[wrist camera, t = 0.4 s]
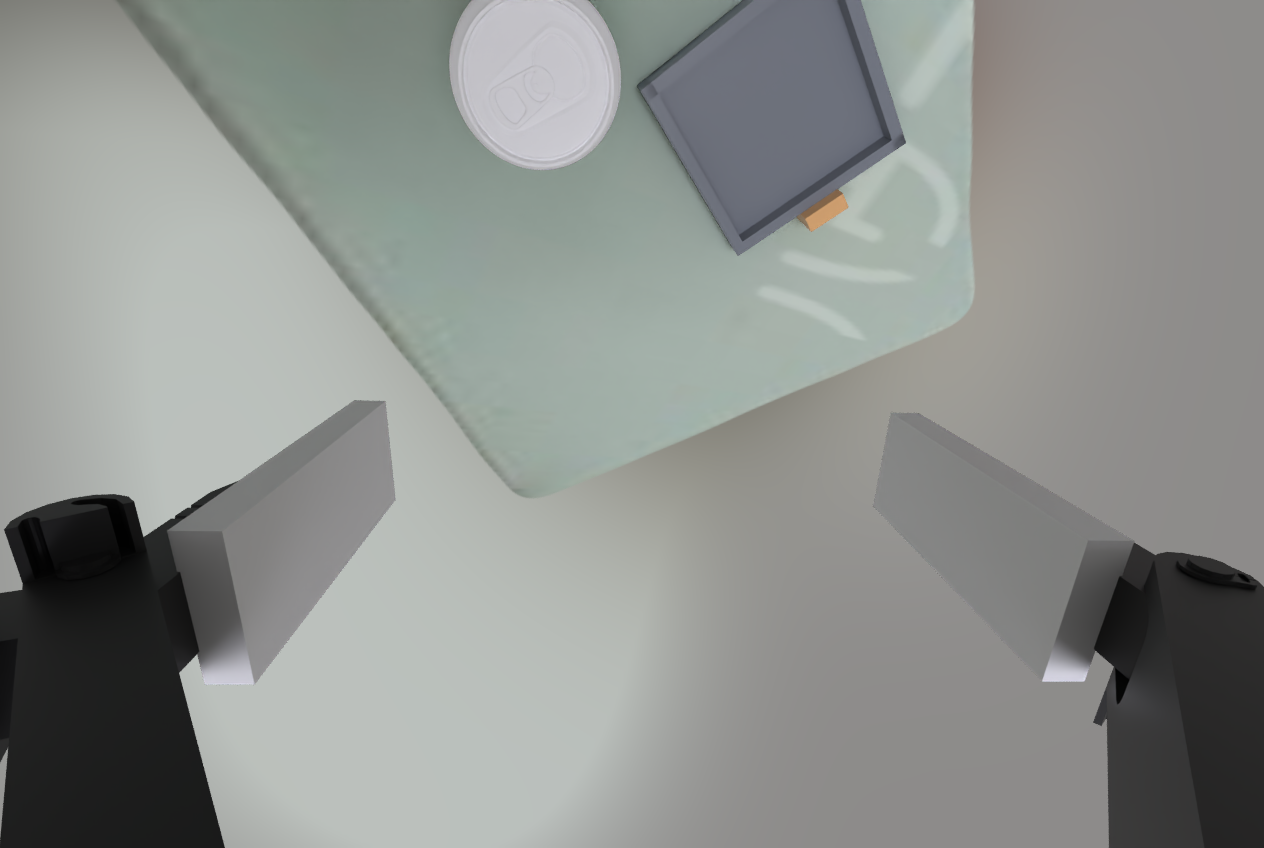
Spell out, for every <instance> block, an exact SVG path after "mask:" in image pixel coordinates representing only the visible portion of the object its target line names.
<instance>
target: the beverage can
mask: <svg viewBox="0 0 1264 848" xmlns="http://www.w3.org/2000/svg"><path fill="white" fill-rule="evenodd" d="M449 72H450V81H451V86H452V91H453V95H454V98H455V101H456V104H457V106H458V109H459V111H460V113H461V115H462V117H463V119H464V121H465V123H466V124H467V126H468V127H469V129H470V130H471V132H472V133H473V134H474V135H475V137H476V138H477V139H478V140H479V141H480V142H481V143H482V144H483V145H484V146H485V147H486V148H487V149H488V150H490V151H491V152H492V153H493V154H495V155H496V156H498V157H499V158H501V159H503V160H505V161H507V162H509V163H511V164H513V165H516V166H519V167H523V168H527V169H533V170H552V169H557V168H562V167H565V166H568V165H570V164H573V163H575V162H577V161H578V160H580V159H582V158H583V157H585V156H586V155H587V154H589V153H590V152H591V151H592V150H593V149H594V148H595V147H596V146H597V145H598V144H599V143H600V142H601V140H602V139H603V138H604V136H605V135H606V133H607V132H608V130H609V128H610V126H611V124H612V122H613V120H614V117H615V114H616V111H617V108H618V104H619V99H620V91H621V69H620V61H619V56H618V52H617V48H616V45H615V42H614V39H613V37H612V34H611V32H610V30H609V28H608V26H607V24H606V23H605V21H604V19H603V18H602V16H601V15H600V13H599V12H598V11H597V9H596V8H595V7H594V6H593V5H592V4H591V3H590V2H589V1H588V0H471V2H470V3H469V4H468V6H467V7H466V8H465V10H464V11H463V13H462V15H461V17H460V19H459V21H458V23H457V25H456V28H455V31H454V34H453V37H452V42H451V47H450V56H449Z"/></svg>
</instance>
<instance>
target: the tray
mask: <svg viewBox="0 0 1264 848" xmlns="http://www.w3.org/2000/svg"><path fill="white" fill-rule="evenodd" d="M637 87H638V89H639V90H640V92H641V94H642V95H643V97H644V99H645V101H646V102H647V104H648V106H649V107H650V109H651V111H652V112H653V114H654V116H655V118H656V119H657V121H658V123H659V124H660V126H661V128H662V129H663V131H664V133H665V135H666V136H667V138H668V140H669V141H670V143H671V145H672V146H673V148H674V150H675V152H676V153H677V155H678V157H679V158H680V160H681V162H682V163H683V165H684V167H685V169H686V170H687V172H688V174H689V175H690V177H691V179H692V180H693V182H694V184H695V186H696V187H697V189H698V191H699V192H700V194H701V196H702V197H703V199H704V201H705V203H706V204H707V206H708V208H709V209H710V211H711V213H712V214H713V216H714V218H715V220H716V221H717V223H718V225H719V226H720V228H721V230H722V231H723V233H724V235H725V237H726V238H727V240H728V242H729V243H730V245H731V247H732V248H733V250H734V251H735V252H736V254H737V255H738V256H739V255H740V254H742V253H743V252H745V251H746V250H748V249H749V248H751V247H752V246H754V245H755V244H757V243H758V242H760V241H761V240H763V239H764V238H766V237H767V236H768V235H770V234H771V233H773V232H774V231H776V230H777V229H779V228H780V227H782V226H783V225H785V224H786V223H788V222H789V221H791V220H792V219H794V218H795V217H797V218H798V219H799V220H800V221H801V222H802V223H803V224H804V225H805V226H806V227H807V228H808V229H809V230H810V231H811V232H812V231H813V230H815V229H817V228H818V227H820V226H821V225H823V224H824V223H826V222H827V221H829V220H830V219H832V218H833V217H835V216H836V215H838V214H839V213H841V212H842V211H844V210H845V209H847V208H848V205H847V202H846V200H845V197H844V195H843V193H841V192H840V191H839V190H837V189H838V188H840V187H841V186H843V185H844V184H846V183H847V182H849V181H850V180H852V179H853V178H855V177H856V176H858V175H859V174H861V173H862V172H864V171H865V170H867V169H868V168H870V167H871V166H872V165H874V164H875V163H877V162H878V161H880V160H881V159H883V158H884V157H886V156H887V155H889V154H890V153H892V152H893V151H895V150H896V149H898V148H899V147H901V146H902V145H904V144H905V143H906V141H905V138H904V135H903V132H902V129H901V126H900V123H899V119H898V116H897V113H896V110H895V107H894V104H893V100H892V97H891V94H890V91H889V88H888V85H887V82H886V78H885V75H884V72H883V69H882V66H881V63H880V60H879V56H878V53H877V50H876V47H875V44H874V41H873V38H872V34H871V31H870V28H869V25H868V22H867V19H866V16H865V12H864V9H863V6H862V3H861V0H743V1H742V2H740V3H739V4H738V5H737V6H735V7H734V8H733V9H732V10H730V11H729V12H728V13H727V14H725V15H724V16H723V17H722V18H720V19H719V20H718V21H717V22H715V23H714V24H713V25H712V26H710V27H709V28H708V29H707V30H705V31H704V32H703V33H702V34H700V35H699V36H698V37H697V38H695V39H694V40H693V41H692V42H691V43H689V44H688V45H687V46H686V47H684V48H683V49H682V50H681V51H679V52H678V53H677V54H676V55H674V56H673V57H672V58H671V59H669V60H668V61H667V62H666V63H664V64H663V65H662V66H661V67H659V68H658V69H657V70H656V71H654V72H653V73H652V74H651V75H649V76H648V77H647V78H646V79H644V80H643V81H642V82H641V83H639V84H638V85H637Z"/></svg>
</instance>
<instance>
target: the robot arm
mask: <svg viewBox="0 0 1264 848" xmlns="http://www.w3.org/2000/svg"><path fill="white" fill-rule="evenodd" d="M394 501H395V490H394V480H393V470H392V461H391V451H390V442H389V432H388V422H387V412H386V403H385V401H361V400H360V401H359V400H358V401H357V400H354V401H353V402H351V403H350V404H349V405H347V406H346V407H344V408H343V409H341V410H340V411H338V412H337V413H335V414H334V415H333V416H331V417H330V418H328V419H327V420H326V421H324V422H323V423H321V424H320V425H318V426H317V427H315V428H314V429H313V430H311V431H310V432H308V433H307V434H305V435H304V436H302V437H301V438H300V439H298V440H297V441H295V442H294V443H292V444H291V445H290V446H288V447H287V448H285V449H284V450H282V451H281V452H279V453H278V454H277V455H275V456H274V457H272V458H271V459H269V460H268V461H267V462H265V463H264V464H262V465H261V466H259V467H258V468H257V469H255V470H254V471H252V472H251V473H249V474H248V475H246V476H245V477H244V478H242V479H241V480H239V481H237V482H235V483H232V484H229V485H227V486H225V487H222V488H220V489H217V490H215V491H212V492H210V493H209V494H207V495H206V496H204V497H203V498H201V499H200V500H198V501H197V502H195V503H194V504H192V505H191V508H187V509H185V510H183V511H182V512H181V513H179V514H177V515H176V516H175V519H170V520H168V521H167V522H165V523H164V524H163V525H161V526H160V527H158V528H157V529H155V530H154V531H152V532H151V533H149V534H148V535H146V536H145V537H143V534H142V530H141V527H140V523H139V519H138V515H137V511H136V507H135V503H134V501H133V500H131V499H130V498H129V497H127V496H122V495H116V494H108V495H91V496H84V497H78V498H72V499H67V500H63V501H60V502H56V503H52V504H48V505H45V506H42V507H40V508H37V509H34V510H32V511H29V512H26V513H24V514H23V515H21V516H19V517H18V518H16V519H14V520H12V521H11V522H10V523H9V524H8V525H7V527H6V528H5V529H4V531H5V534H6V536H7V539H8V542H9V545H10V548H11V551H12V554H13V557H14V560H15V562H16V565H17V568H18V571H19V574H20V577H21V580H22V583H23V588H22V590H18V591H12V592H5V593H0V762H1V760H2V758H3V756H4V754H5V752H6V750H7V748H8V758H7V770H6V780H5V792H4V803H3V815H2V827H1V837H0V848H225V847H224V843H223V839H222V836H221V831H220V827H219V824H218V820H217V816H216V812H215V808H214V805H213V801H212V797H211V793H210V789H209V786H208V782H207V778H206V774H205V771H204V767H203V763H202V759H201V755H200V752H199V747H198V744H197V740H196V736H195V732H194V728H193V725H192V721H191V717H190V713H189V709H188V706H187V702H186V698H185V694H184V690H183V687H182V683H181V679H180V675H179V672H180V671H181V670H182V669H183V668H184V667H185V666H186V665H187V664H188V663H189V662H190V661H191V660H192V659H193V658H194V657H195V656H196V655H198V659H199V663H200V667H201V671H202V675H203V679H204V683H205V685H213V684H214V685H215V684H216V685H224V684H225V685H229V684H230V685H231V684H233V685H234V684H235V685H236V684H239V685H241V684H255V683H256V682H257V681H258V679H259V678H260V676H261V675H262V674H263V673H264V671H265V670H266V669H267V667H268V666H269V665H270V664H271V662H272V661H273V660H274V658H275V657H276V656H277V654H278V653H279V652H280V650H281V649H282V648H283V647H284V645H285V644H286V643H287V641H288V640H289V639H290V637H291V636H292V635H293V633H294V632H295V631H296V629H297V628H298V627H299V626H300V624H301V623H302V622H303V620H304V619H305V618H306V616H307V615H308V614H309V612H310V611H311V610H312V609H313V607H314V606H315V605H316V603H317V602H318V601H319V599H320V598H321V597H322V595H323V594H324V593H325V591H326V590H327V589H328V587H329V586H330V585H331V584H332V582H333V581H334V580H335V578H336V577H337V576H338V574H339V573H340V572H341V570H342V569H343V568H344V566H345V565H346V564H347V563H348V561H349V560H350V559H351V557H352V556H353V555H354V553H355V552H356V551H357V550H358V548H359V547H360V546H361V544H362V543H363V541H364V540H365V539H366V538H367V536H368V535H369V534H370V533H371V531H372V530H373V529H374V527H375V526H376V525H377V523H378V522H379V521H380V519H381V518H382V517H383V515H384V514H385V513H386V511H387V510H388V509H389V508H390V506H391V505H392V504H393V502H394ZM873 507H874V508H875V509H876V510H877V511H878V512H879V513H880V514H881V515H882V516H883V517H884V518H885V519H886V520H887V521H888V522H889V523H890V524H891V525H892V526H893V527H894V528H895V530H896V531H897V532H898V533H899V534H900V535H901V536H902V537H903V538H904V539H905V540H906V541H907V542H908V543H909V544H910V545H911V546H912V547H913V548H914V549H915V550H916V551H917V552H918V553H919V554H920V555H921V556H922V558H923V559H924V560H925V561H926V562H927V563H928V564H929V565H930V566H931V567H932V568H933V569H934V570H935V571H936V572H937V573H938V574H939V575H940V576H941V577H942V578H943V579H944V580H945V581H946V582H947V583H948V584H949V586H950V587H951V588H952V589H953V590H954V591H955V592H956V593H957V594H958V595H959V596H960V597H961V598H962V599H963V600H964V601H965V602H966V603H967V604H968V605H969V606H970V607H971V608H972V609H973V610H974V612H975V613H976V614H977V615H978V616H979V617H980V618H981V619H982V620H983V621H984V622H985V623H986V624H987V625H988V626H989V627H990V628H991V629H992V630H993V631H994V632H995V633H996V634H997V635H998V636H999V637H1000V639H1001V640H1002V641H1003V642H1004V643H1005V644H1006V645H1007V646H1008V647H1009V648H1010V649H1011V650H1012V651H1013V652H1014V653H1015V654H1016V655H1017V656H1018V657H1019V658H1020V659H1021V660H1022V661H1023V662H1024V663H1025V664H1026V665H1027V666H1028V668H1029V669H1030V670H1032V672H1033V673H1034V674H1035V675H1036V676H1037V677H1038V678H1039V679H1040V680H1041V681H1043V682H1045V681H1046V682H1050V681H1051V682H1052V681H1053V682H1054V681H1055V682H1058V681H1059V682H1061V681H1085V678H1086V676H1087V672H1088V670H1089V667H1090V664H1091V662H1092V659H1093V656H1094V653H1095V651H1097V652H1098V653H1099V654H1100V655H1101V656H1103V658H1105V659H1106V660H1107V661H1108V662H1109V663H1111V664H1112V665H1113V666H1114V668H1113V671H1112V673H1111V676H1110V679H1109V681H1108V684H1107V687H1106V690H1105V692H1104V695H1103V698H1102V700H1101V703H1100V706H1099V708H1098V711H1097V714H1096V716H1095V719H1094V723H1096V724H1098V725H1101V726H1102V724H1103V722H1104V721H1105V719H1107V745H1108V746H1107V748H1108V804H1109V805H1108V807H1109V809H1108V812H1109V848H1264V587H1263V586H1262V585H1261V584H1260V583H1259V582H1258V581H1257V580H1255V579H1254V578H1253V577H1252V576H1250V575H1248V574H1245V573H1244V572H1241V571H1239V570H1237V569H1234V568H1232V567H1230V566H1228V565H1226V564H1225V563H1223V562H1220V561H1217V560H1214V559H1211V558H1207V557H1202V556H1194V555H1190V554H1185V553H1174V552H1165V553H1160V554H1157V555H1154V554H1152V553H1151V552H1149V551H1147V550H1146V549H1144V548H1142V547H1141V546H1139V545H1137V544H1136V543H1134V540H1132V539H1130V538H1129V537H1127V536H1125V535H1124V534H1122V533H1120V532H1118V531H1117V530H1115V529H1113V528H1112V527H1110V526H1108V525H1107V524H1105V523H1103V522H1102V521H1100V520H1098V519H1097V518H1095V517H1093V516H1092V515H1090V514H1088V513H1086V512H1085V511H1083V510H1081V509H1080V508H1078V507H1076V506H1075V505H1073V504H1071V503H1069V502H1068V501H1066V500H1065V499H1063V498H1061V497H1059V496H1058V495H1056V494H1054V493H1053V492H1051V491H1049V490H1048V489H1046V488H1044V487H1043V486H1041V485H1039V484H1037V483H1036V482H1034V481H1032V480H1031V479H1029V478H1027V477H1026V476H1024V475H1022V474H1021V473H1019V472H1017V471H1016V470H1014V469H1012V468H1010V467H1009V466H1007V465H1005V464H1003V463H1002V462H1000V461H999V460H997V459H995V458H994V457H992V456H990V455H989V454H987V453H985V452H983V451H982V450H980V449H978V448H977V447H975V446H973V445H972V444H970V443H968V442H967V441H965V440H963V439H961V438H960V437H958V436H956V435H955V434H953V433H951V432H950V431H948V430H946V429H945V428H943V427H941V426H939V425H938V424H936V423H934V422H933V421H931V420H929V419H928V418H926V417H924V416H923V415H921V414H919V413H891V415H890V420H889V425H888V430H887V436H886V441H885V446H884V451H883V457H882V462H881V467H880V473H879V478H878V483H877V489H876V494H875V499H874V505H873Z"/></svg>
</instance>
